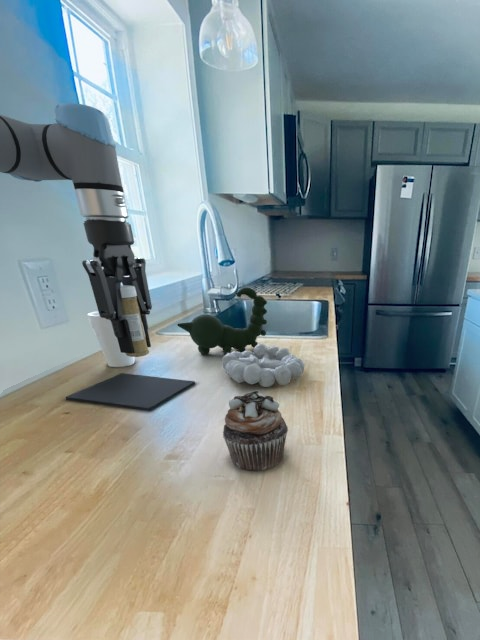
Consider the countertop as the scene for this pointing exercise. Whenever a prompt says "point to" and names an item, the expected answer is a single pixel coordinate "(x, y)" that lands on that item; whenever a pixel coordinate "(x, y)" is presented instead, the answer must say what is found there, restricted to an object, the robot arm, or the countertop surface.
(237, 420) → the cupcake
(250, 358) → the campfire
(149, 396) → the corner mat
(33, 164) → the robot arm
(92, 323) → the foam cup
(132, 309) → the sprinkles bottle
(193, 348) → the countertop surface
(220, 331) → the toy figurine
